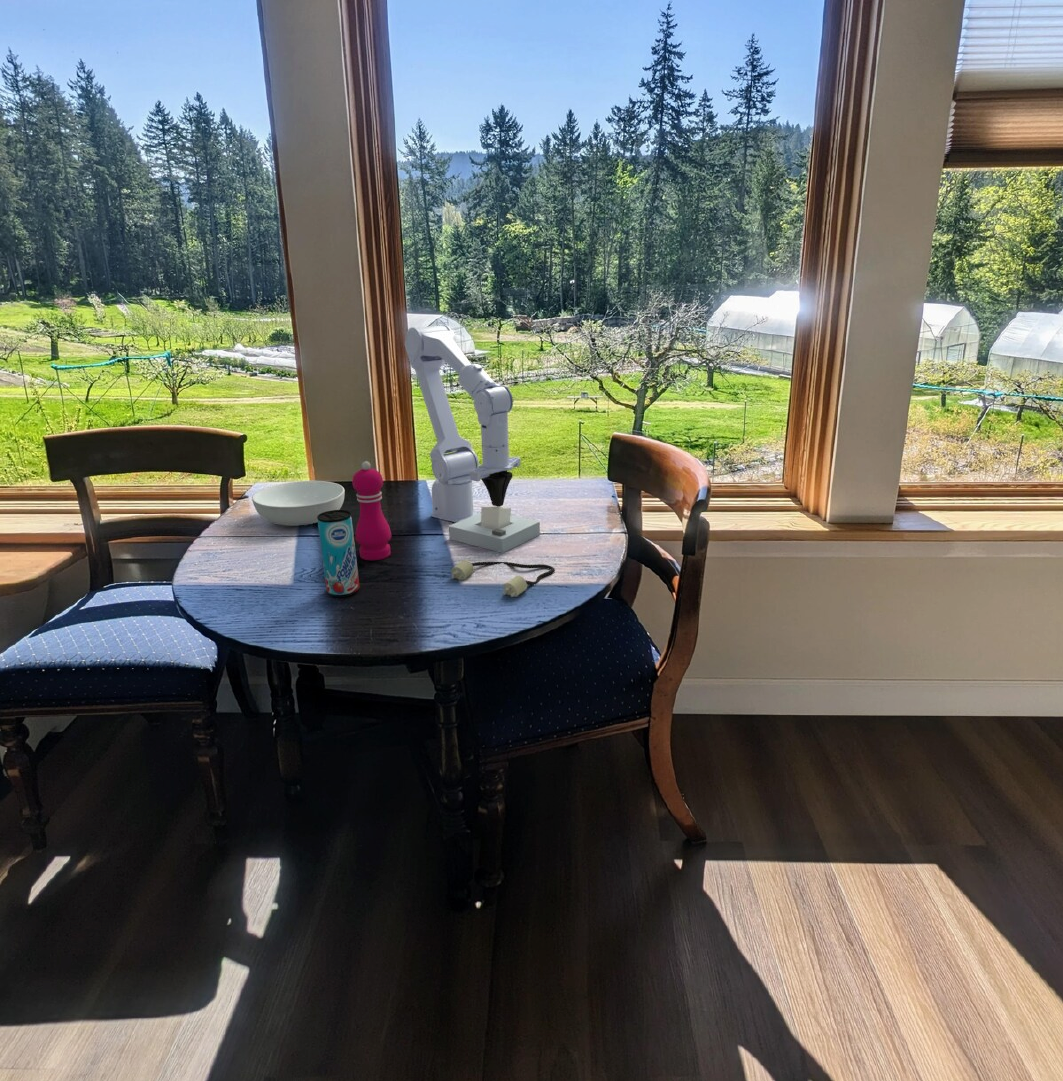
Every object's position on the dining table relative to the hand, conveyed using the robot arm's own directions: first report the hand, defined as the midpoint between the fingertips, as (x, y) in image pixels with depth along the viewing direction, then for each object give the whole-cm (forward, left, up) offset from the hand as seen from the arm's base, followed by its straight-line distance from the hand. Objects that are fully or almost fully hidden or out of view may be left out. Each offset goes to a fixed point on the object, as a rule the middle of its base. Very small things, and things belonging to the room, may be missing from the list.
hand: (497, 505), depth 165 cm
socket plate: (+1, -3, -6) cm, 7 cm away
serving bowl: (-45, -19, -7) cm, 49 cm away
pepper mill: (-13, -25, -7) cm, 29 cm away
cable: (+16, -18, -7) cm, 25 cm away
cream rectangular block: (+1, -3, -6) cm, 6 cm away
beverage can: (-4, -41, -7) cm, 41 cm away
